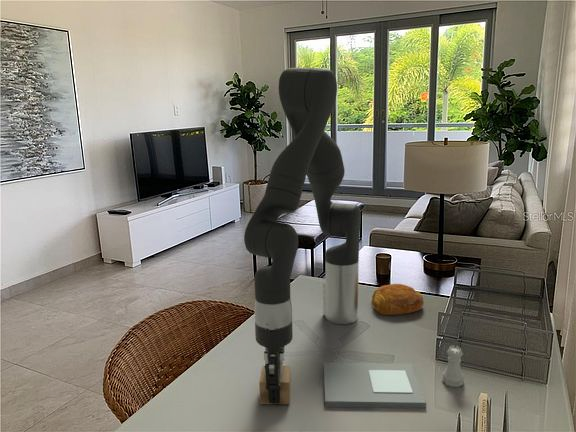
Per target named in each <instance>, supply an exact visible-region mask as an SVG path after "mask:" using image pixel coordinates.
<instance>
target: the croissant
mask: <svg viewBox="0 0 576 432" xmlns="http://www.w3.org/2000/svg"><path fill="white" fill-rule="evenodd" d="M371 304H372V307H373V309H374V310H375V311H376V312H378V313H379V314H380V315H382V316H383V315H384V316H390V315H392V316H393V315H394V316H395V315H404V314H410V313H414V312H417V311H419V310H421V309H422V308H423V307H424V296H423V295H422V293H421V292H419V291H417V290H416V289H414V288H413V287H411V286H409V285H407V284H403V283H392V284H385V285H381V286H380V287H379V286H378V288H377V289H375V290H374V292H373V293H372V298H371Z"/></svg>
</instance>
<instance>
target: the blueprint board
mask: <svg viewBox="0 0 576 432" xmlns="http://www.w3.org/2000/svg"><path fill="white" fill-rule="evenodd" d="M323 383H324V384H323V387H324V406H325V407H337V408H338V407H340V408H341V407H343V408H347V407H348V408H401V409H402V408H404V409H405V408H407V409H409V408H410V409H426V408H427V402H426V401H427V400H426V398H425V396H424V393H423V390H422V389H421V385H420V383H419V380H418V377H417V374H416V373H415V370H414V368H413V365H412V363H371V362H370V363H368V362H367V363H366V362H363V363H362V362H361V363H360V362H359V363H358V362H357V363H356V362H355V363H353V362H348V363H347V362H345V363H344V362H324V363H323Z"/></svg>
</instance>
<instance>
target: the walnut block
mask: <svg viewBox="0 0 576 432" xmlns="http://www.w3.org/2000/svg"><path fill="white" fill-rule="evenodd" d="M279 369H280V366H279ZM260 371H261V372H260V375H259V382H258V383H259V404H260V405H290V403H291V389H292V386H291V382H292V381H291V379H292V378H291V375H292V374H291V365H283V372H282V375H280V383H281V385H280V402H279V403H270V402H269V390H266V374H265V365H262V366H261V370H260Z"/></svg>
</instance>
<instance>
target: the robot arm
mask: <svg viewBox="0 0 576 432" xmlns="http://www.w3.org/2000/svg"><path fill="white" fill-rule="evenodd" d="M278 79H279V80H278V95H279V100H280V103H281V108H282V110H283V112H284V114H285V118H286V119H287V122H288V124H289V126H290V128H291V130H292V133H293V135H294V138H293V139H292V140H291V142H290V143H289V144H288V145H286V147H285V148H284V149H283V150H282V152H280V154H279V155H278V156H277V158H276V159H275V161H274V163H273V164H272V166H271V169H270V172H269V177H268V180H267V183H266V188H265V191H264V195H263V197H262V199H261V201H260V202H259V203H258V206H257V207H256V209H255V211H254V212H253V214H252V215H251V217H250V219H249V221H248V222H247V225H246V228H245V231H244V235H243V237H244V238H243V239H244V242H243V243H244V245H245V248H246V250H247V251H248V253H250V254H251V255H254V256H258V257H264V258H267V259H268V258H269V259H271V260H272V263H271V265H268V266H267V265H266V266H263V267H260V268H257V270H256V271H255V274H254V297H255V298H254V312H253V313H254V329H255V330H254V332H255V334H254V335H255V342H257V344H258V345H259V346H261V347H264V349H265V350H264V352H263V359H264V366H265V374H266V390H269V402H270V403H279V402H280V385H281V383H280V375H282V372H283V366H284V365H283V364H284V363H283V362H284V360H285V350H286V349H285V346H288V345H289V344H290V343H291V342H292V340H293V306H292V305H293V304H292V299H291V276H292V271H293V267H294V262H295V259H296V255H297V252H298V247H299V236H298V233H297V231H296V229H295V228H294V226H293V225H291V224H288V223H285V222H279V221H278V222H277V220H278V219H279V218H280V216H282V215H286V214H290V213H294V212H296V211H297V210H298V208H299V206H300V201H301V197H302V193H303V189H304V186H305V182H306V177H307V180H308V182H309V185H310V188H311V192H312V195H313V198H314V203H315V209H316V213H317V214H316V215H317V219H318V223H319V224H318V225H319V228H320V231H321V232H322V234H324V235H325V236H327V237H335V238H345V242H343V243H341V244H339V245H334V246H331V247H329V248H328V249H326V250H325V253H324V254H325V256H324V257H325V258H324V259H325V267H324V268H325V270H324V271H325V283H323V285H322V289H323V291H322V295H323V297H322V304H323V305H322V307H323V308H322V314H323V316H324V317H325V319H326V320H327V321H328V322H330V323H333V324H337V325H348V324H353V323H355V322H357V320H358V318H359V316H358V315H359V314H358V313H359V268H360V267H359V264H360V263H359V261H360V260H359V259H360V257H359V255H360V238H361V237H360V235H361V224H362V223H361V221H362V213H361V209H360V206H359V205H357V204H354V203H339V202H337V203H336V202H333V201H332V200H331V198H332V197H333V195H334V194H335V192H336V191H337V190H338V188H339V187H340V185H341V183H342V182H343V181H344V177H345V165H344V161H343V157H342V156H343V155H342V152H341V149H340V147H339V145H338V144H337V143H336V141H335V140H334V139H333V138H332V137H331V136H330V135H329V134H328V133H327V132H326V131H325V129H326V127H327V125H328V124H327V123H328V122H329V119H330V117H331V114H332V112H333V109H334V107H335V103H336V98H337V92H338V83H337V79H336V75H335V73H334V72H333V70H331V69H329V68H326V67H290V68H286V69H284V70H283V71H282V73H280V76H279V78H278ZM279 366H280V369H279Z"/></svg>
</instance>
